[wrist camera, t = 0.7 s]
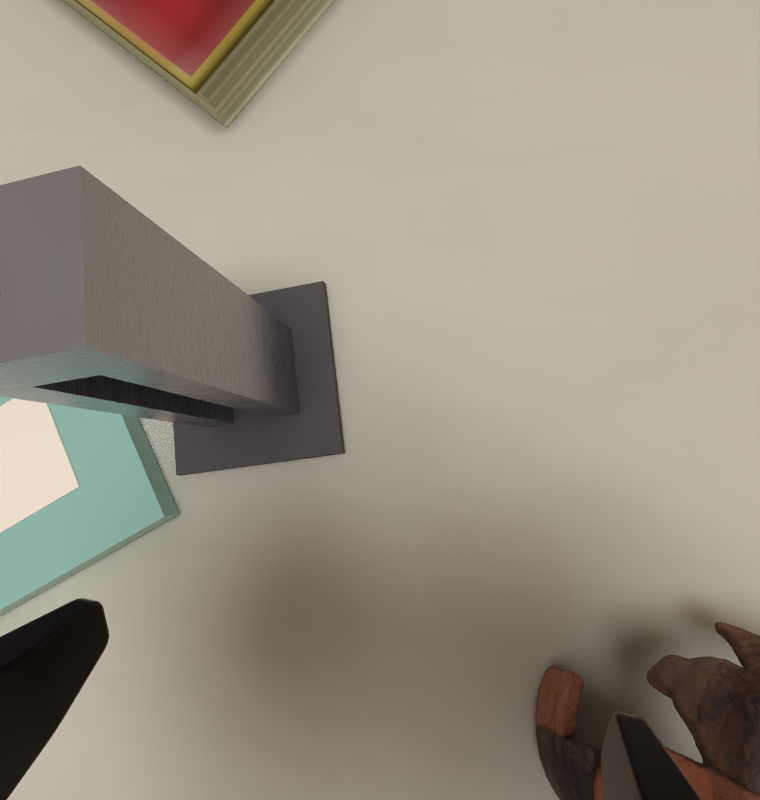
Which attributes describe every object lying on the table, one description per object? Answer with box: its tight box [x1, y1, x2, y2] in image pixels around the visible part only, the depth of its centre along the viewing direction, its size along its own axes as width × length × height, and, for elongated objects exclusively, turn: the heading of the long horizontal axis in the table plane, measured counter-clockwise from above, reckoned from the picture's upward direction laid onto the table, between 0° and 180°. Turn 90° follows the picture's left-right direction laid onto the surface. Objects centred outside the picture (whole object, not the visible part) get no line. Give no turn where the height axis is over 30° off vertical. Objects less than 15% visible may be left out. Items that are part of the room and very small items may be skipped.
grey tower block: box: [0, 166, 300, 427], centre depth 17 cm, size 4×4×13 cm
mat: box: [173, 281, 345, 475], centre depth 24 cm, size 8×8×1 cm
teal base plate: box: [0, 396, 179, 616], centre depth 24 cm, size 12×12×4 cm
